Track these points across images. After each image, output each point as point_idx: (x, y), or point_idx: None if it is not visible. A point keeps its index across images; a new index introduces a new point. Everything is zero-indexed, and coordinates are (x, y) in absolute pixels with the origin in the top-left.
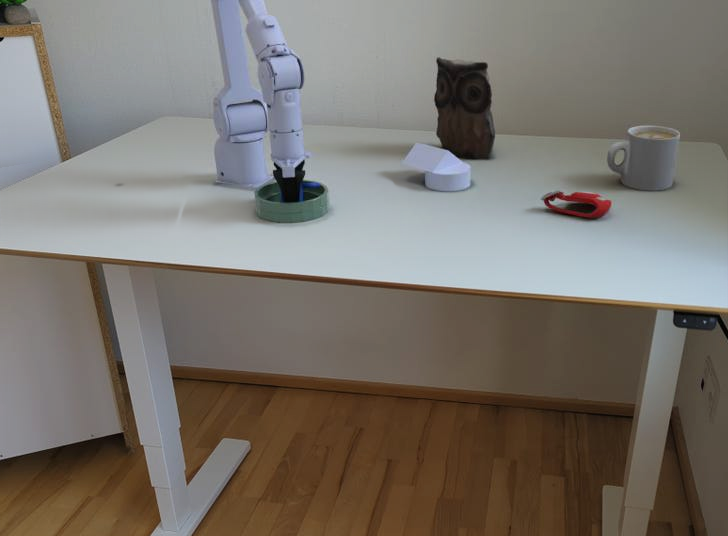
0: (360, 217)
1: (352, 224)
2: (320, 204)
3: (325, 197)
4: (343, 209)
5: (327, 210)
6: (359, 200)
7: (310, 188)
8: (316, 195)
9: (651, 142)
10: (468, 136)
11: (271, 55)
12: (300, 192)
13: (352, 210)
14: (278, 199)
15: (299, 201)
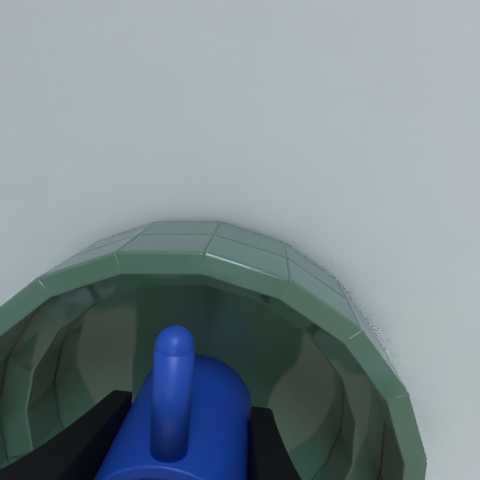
0: (375, 52)
1: (474, 121)
2: (356, 314)
3: (303, 281)
4: (212, 136)
5: (284, 244)
6: (73, 9)
7: (21, 327)
8: (113, 296)
9: None
10: None
11: None
12: (220, 441)
13: (242, 84)
14: None
15: (236, 413)
